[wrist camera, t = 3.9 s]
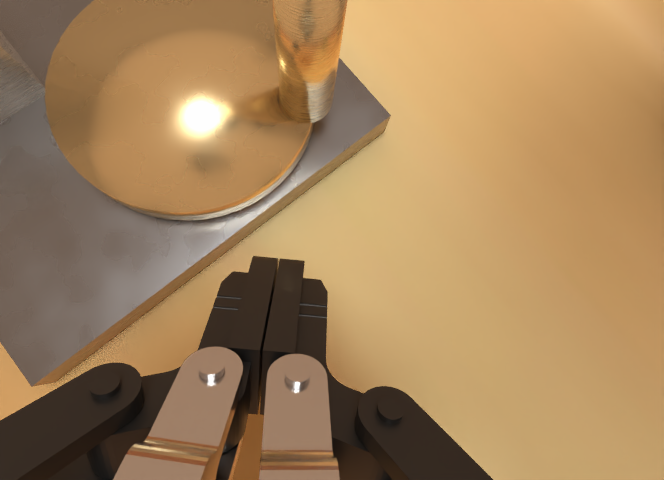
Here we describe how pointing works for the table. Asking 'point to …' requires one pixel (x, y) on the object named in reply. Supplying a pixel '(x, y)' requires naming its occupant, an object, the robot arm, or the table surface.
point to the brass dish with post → (192, 98)
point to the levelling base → (110, 211)
